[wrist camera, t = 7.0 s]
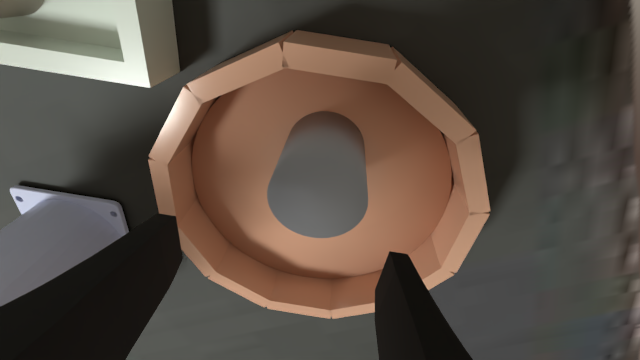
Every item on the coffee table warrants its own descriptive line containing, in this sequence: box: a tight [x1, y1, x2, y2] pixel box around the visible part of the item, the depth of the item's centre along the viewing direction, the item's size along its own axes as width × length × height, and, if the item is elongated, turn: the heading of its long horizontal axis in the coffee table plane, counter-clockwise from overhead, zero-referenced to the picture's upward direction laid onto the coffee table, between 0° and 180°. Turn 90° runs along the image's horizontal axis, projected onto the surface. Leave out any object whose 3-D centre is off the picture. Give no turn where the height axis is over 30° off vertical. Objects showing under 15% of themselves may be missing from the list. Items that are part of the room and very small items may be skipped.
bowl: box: [148, 30, 490, 319], centre depth 19 cm, size 18×18×4 cm
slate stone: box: [267, 111, 368, 238], centre depth 15 cm, size 4×4×5 cm
